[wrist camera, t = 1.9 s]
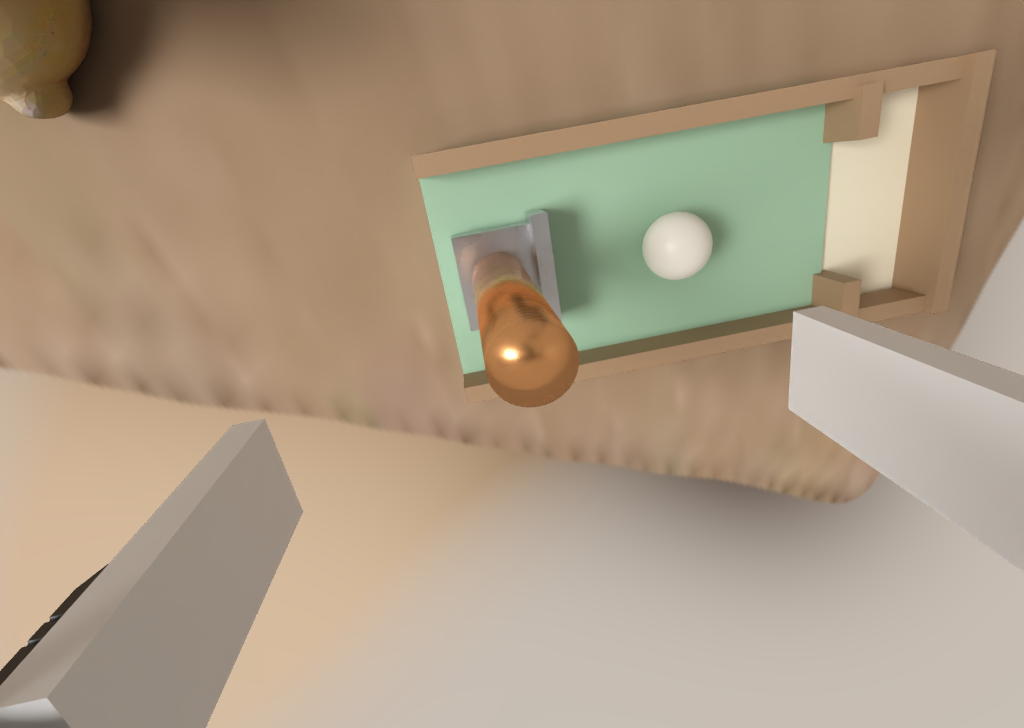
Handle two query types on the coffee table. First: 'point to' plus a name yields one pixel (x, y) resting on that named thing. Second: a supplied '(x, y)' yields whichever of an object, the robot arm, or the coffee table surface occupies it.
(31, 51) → the figurine
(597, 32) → the coffee table surface
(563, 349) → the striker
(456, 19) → the coffee table surface
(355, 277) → the coffee table surface
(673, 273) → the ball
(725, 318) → the pitch
